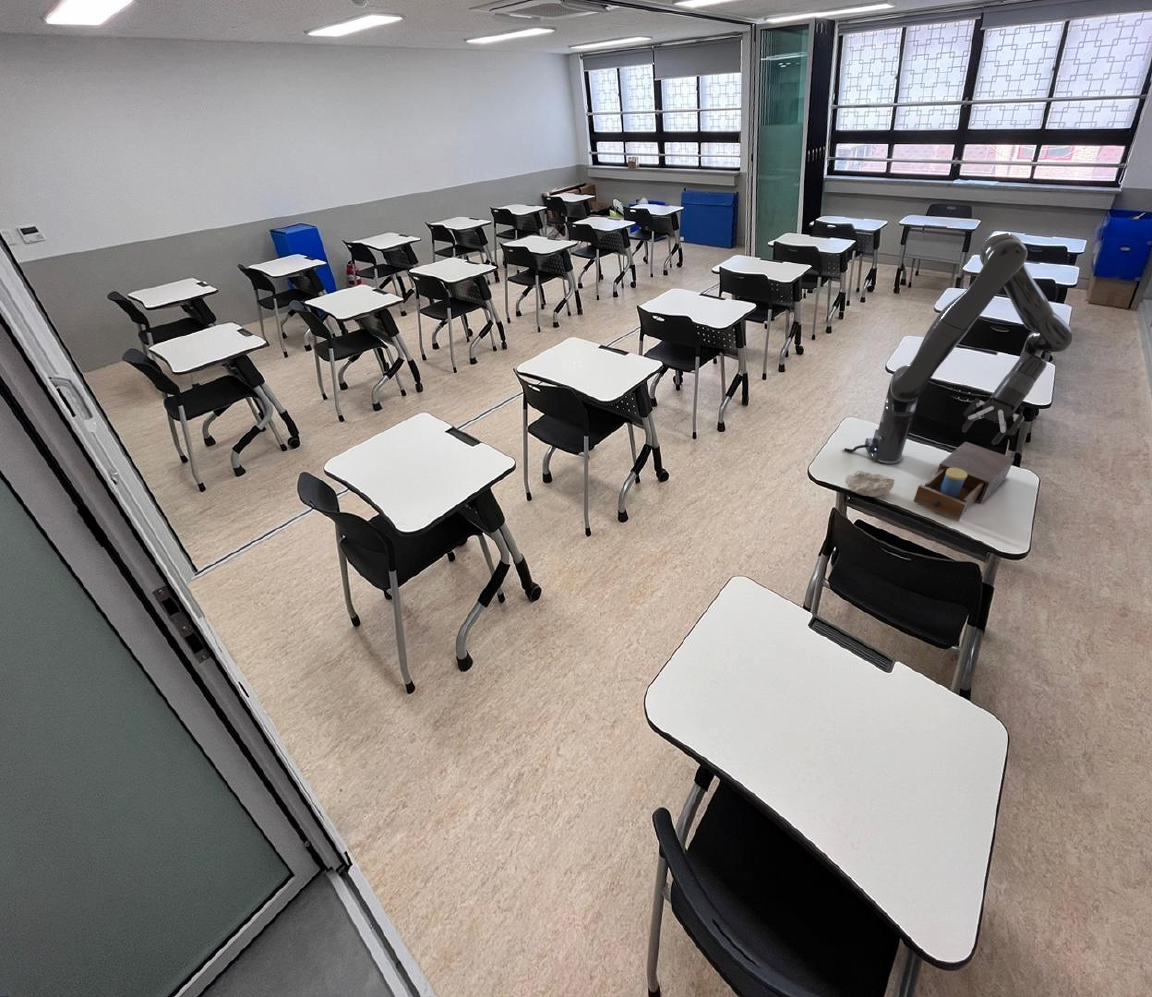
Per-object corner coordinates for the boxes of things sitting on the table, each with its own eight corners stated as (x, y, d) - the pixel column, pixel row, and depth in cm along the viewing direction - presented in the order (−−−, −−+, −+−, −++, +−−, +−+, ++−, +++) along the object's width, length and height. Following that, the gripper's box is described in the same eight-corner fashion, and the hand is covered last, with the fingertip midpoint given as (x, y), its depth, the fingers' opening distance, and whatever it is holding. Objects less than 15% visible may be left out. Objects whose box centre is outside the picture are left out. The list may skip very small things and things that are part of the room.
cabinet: (980, 503, 178) (989, 482, 173) (932, 483, 187) (939, 463, 182) (1005, 479, 186) (1014, 458, 181) (957, 461, 195) (965, 441, 190)
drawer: (956, 523, 170) (963, 506, 167) (911, 503, 179) (916, 487, 175) (982, 497, 178) (990, 480, 175) (938, 479, 187) (944, 463, 183)
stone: (873, 509, 185) (896, 490, 178) (840, 487, 186) (862, 468, 179) (875, 496, 190) (898, 477, 183) (844, 475, 191) (865, 455, 184)
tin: (951, 506, 175) (962, 480, 168) (933, 498, 178) (942, 473, 172) (960, 498, 177) (970, 472, 171) (941, 491, 181) (951, 465, 175)
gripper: (985, 377, 171) (951, 425, 175) (1037, 395, 161) (1000, 445, 165) (989, 384, 176) (956, 431, 180) (1040, 402, 167) (1004, 451, 171)
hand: (977, 437), depth 173 cm, fingers open, 8 cm apart
